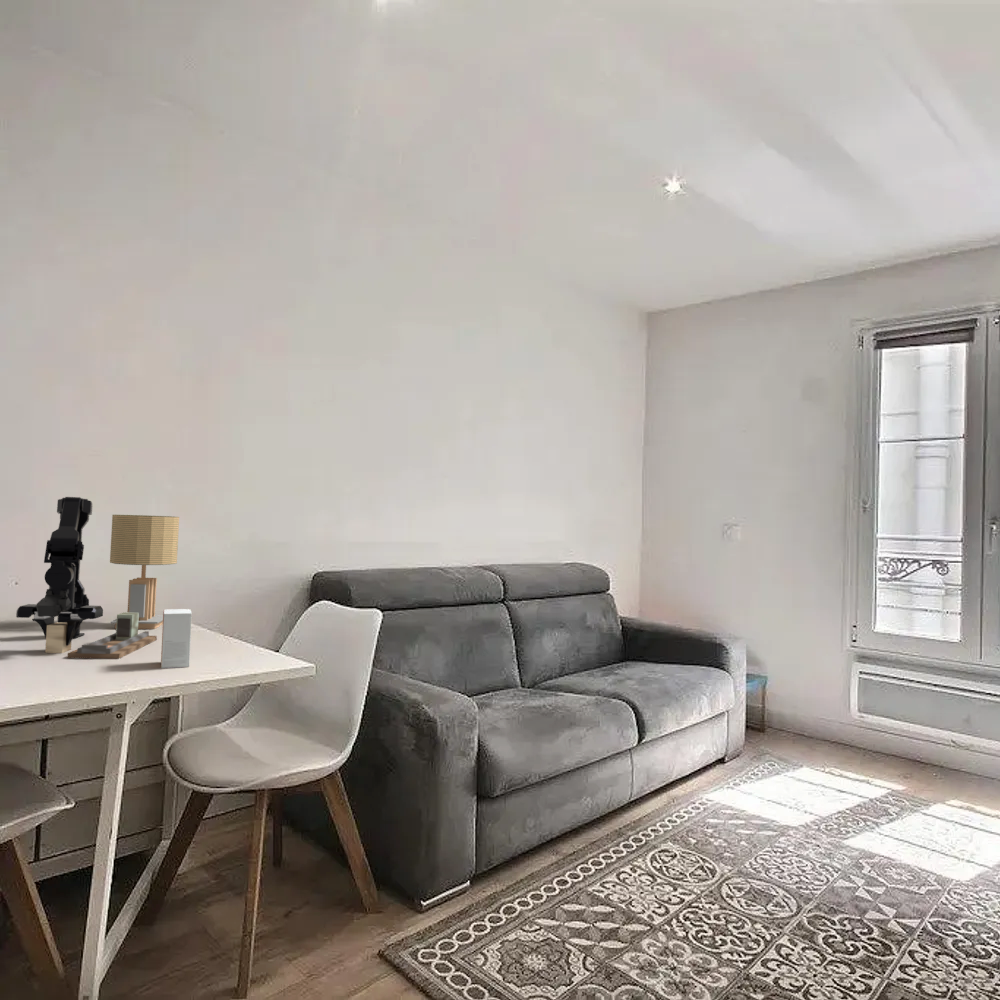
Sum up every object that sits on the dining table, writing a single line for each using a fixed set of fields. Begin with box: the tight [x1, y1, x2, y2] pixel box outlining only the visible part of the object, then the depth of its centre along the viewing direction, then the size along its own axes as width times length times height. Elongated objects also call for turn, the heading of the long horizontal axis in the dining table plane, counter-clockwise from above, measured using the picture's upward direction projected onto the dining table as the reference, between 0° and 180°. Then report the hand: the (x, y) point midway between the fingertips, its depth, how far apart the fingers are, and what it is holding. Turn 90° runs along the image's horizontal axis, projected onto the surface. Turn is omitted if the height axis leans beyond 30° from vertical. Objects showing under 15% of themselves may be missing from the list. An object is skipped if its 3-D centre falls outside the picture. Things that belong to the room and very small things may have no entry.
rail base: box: [66, 611, 158, 660], centre depth 194 cm, size 28×12×8 cm, turn 8°
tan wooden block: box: [45, 622, 72, 654], centre depth 187 cm, size 5×4×7 cm
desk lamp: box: [109, 514, 180, 630], centre depth 233 cm, size 20×20×35 cm
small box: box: [160, 608, 193, 669], centre depth 177 cm, size 8×6×13 cm
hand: (58, 645), depth 187 cm, fingers closed on tan wooden block, 4 cm apart
